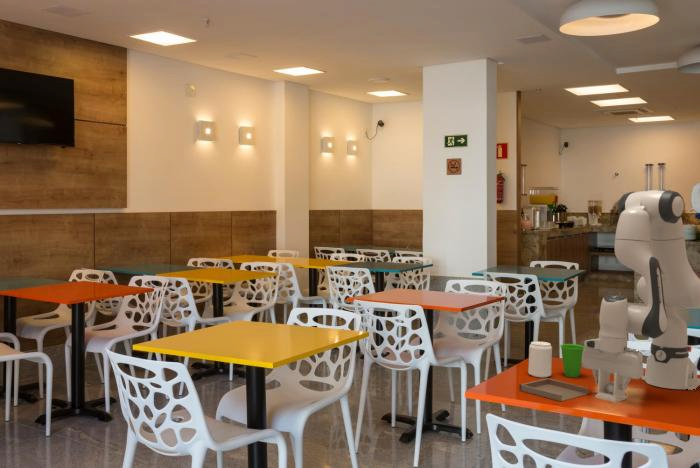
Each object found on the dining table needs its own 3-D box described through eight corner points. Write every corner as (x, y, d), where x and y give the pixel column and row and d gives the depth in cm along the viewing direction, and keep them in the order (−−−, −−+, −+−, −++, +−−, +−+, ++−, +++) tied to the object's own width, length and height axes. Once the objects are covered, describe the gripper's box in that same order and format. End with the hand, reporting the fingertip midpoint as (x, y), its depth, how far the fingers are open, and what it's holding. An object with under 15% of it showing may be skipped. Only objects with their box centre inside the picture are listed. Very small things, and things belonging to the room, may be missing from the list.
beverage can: (552, 378, 247) (553, 346, 246) (529, 377, 249) (530, 344, 248) (550, 373, 255) (551, 341, 254) (527, 372, 256) (528, 340, 256)
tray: (547, 383, 240) (547, 378, 240) (588, 394, 227) (588, 388, 227) (519, 390, 230) (519, 384, 230) (560, 401, 217) (560, 395, 217)
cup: (587, 375, 254) (588, 346, 254) (581, 380, 246) (582, 349, 246) (562, 371, 259) (564, 342, 258) (556, 376, 251) (557, 346, 251)
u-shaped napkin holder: (607, 394, 228) (608, 366, 228) (626, 399, 223) (627, 370, 222) (595, 397, 224) (596, 369, 223) (615, 402, 218) (616, 373, 218)
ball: (608, 393, 226) (611, 380, 226) (620, 398, 223) (624, 385, 223) (601, 392, 223) (605, 379, 223) (614, 396, 220) (617, 383, 220)
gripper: (648, 349, 216) (646, 392, 217) (590, 338, 232) (588, 379, 233) (637, 351, 212) (636, 395, 213) (579, 340, 228) (578, 381, 229)
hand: (610, 386), depth 223 cm, fingers open, 7 cm apart
